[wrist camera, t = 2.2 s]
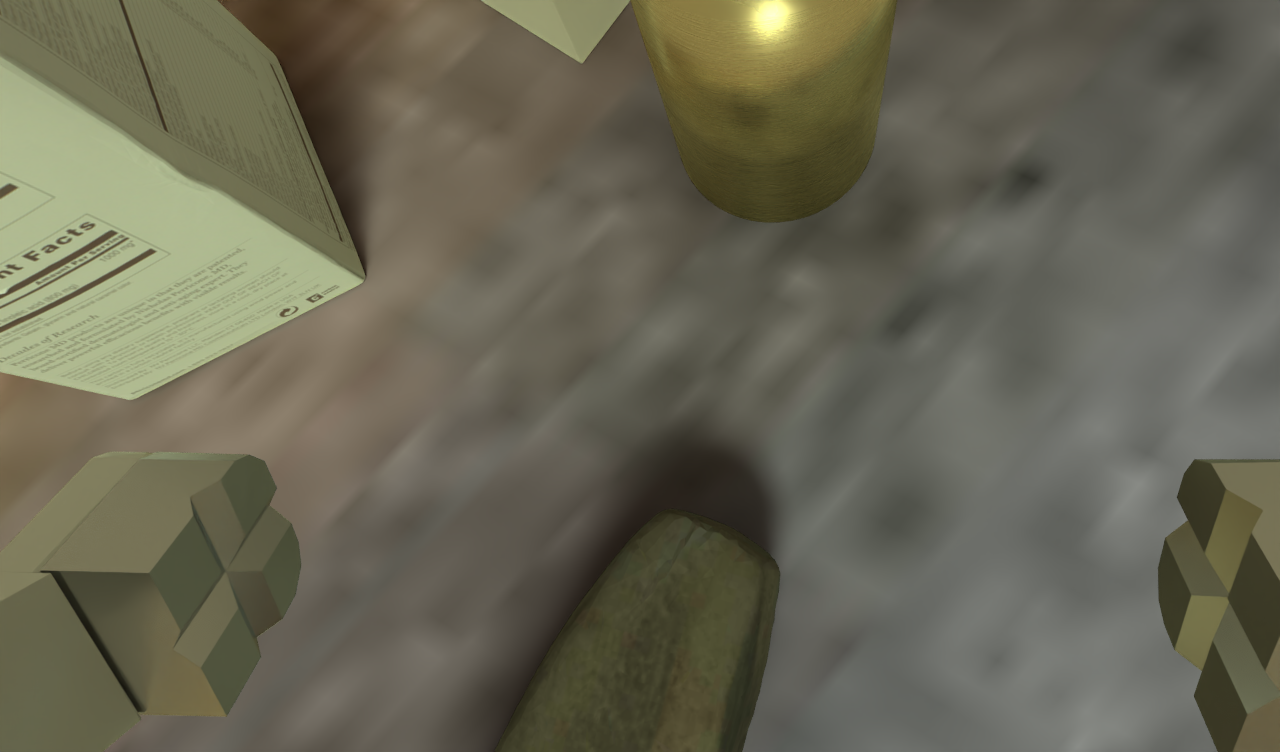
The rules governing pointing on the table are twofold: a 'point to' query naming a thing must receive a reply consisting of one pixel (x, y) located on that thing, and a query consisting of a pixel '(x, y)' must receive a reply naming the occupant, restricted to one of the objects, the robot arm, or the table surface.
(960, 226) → the table surface
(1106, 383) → the table surface
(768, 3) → the cylinder
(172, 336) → the supplement box
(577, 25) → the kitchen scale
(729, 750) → the decorative stone
